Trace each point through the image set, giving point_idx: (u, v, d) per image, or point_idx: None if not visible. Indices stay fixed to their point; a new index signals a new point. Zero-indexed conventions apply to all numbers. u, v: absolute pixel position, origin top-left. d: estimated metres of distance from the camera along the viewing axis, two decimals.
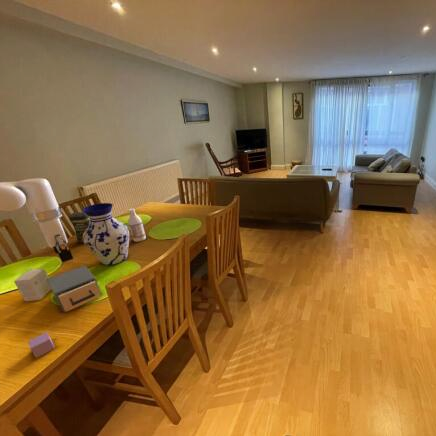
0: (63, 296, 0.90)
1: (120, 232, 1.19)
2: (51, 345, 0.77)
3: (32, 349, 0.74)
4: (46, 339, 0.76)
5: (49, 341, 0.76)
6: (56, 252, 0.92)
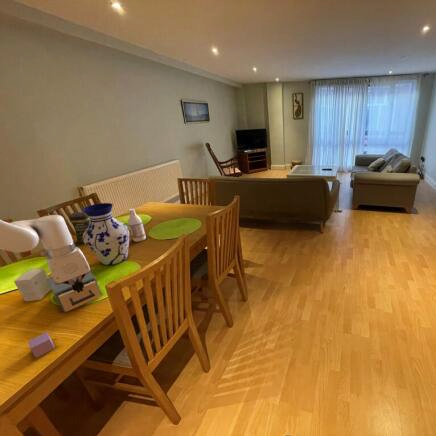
0: (63, 296, 0.90)
1: (120, 232, 1.19)
2: (51, 345, 0.77)
3: (32, 349, 0.74)
4: (46, 339, 0.76)
5: (49, 341, 0.76)
6: (80, 290, 0.91)
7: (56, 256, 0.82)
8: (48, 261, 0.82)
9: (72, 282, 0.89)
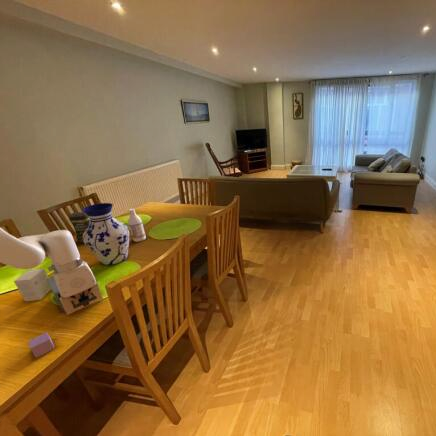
0: (65, 299, 0.89)
1: (120, 232, 1.19)
2: (51, 345, 0.77)
3: (32, 349, 0.74)
4: (46, 339, 0.76)
5: (49, 341, 0.76)
6: None
7: (63, 271, 0.82)
8: (55, 276, 0.82)
9: (78, 296, 0.89)
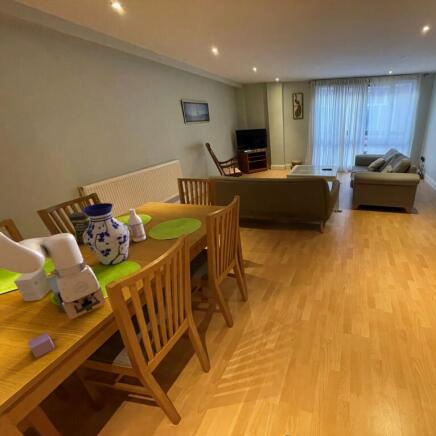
0: None
1: (120, 232, 1.19)
2: (51, 345, 0.77)
3: (32, 349, 0.74)
4: (46, 339, 0.76)
5: (49, 341, 0.76)
6: None
7: (66, 275, 0.80)
8: (58, 281, 0.80)
9: (81, 301, 0.87)
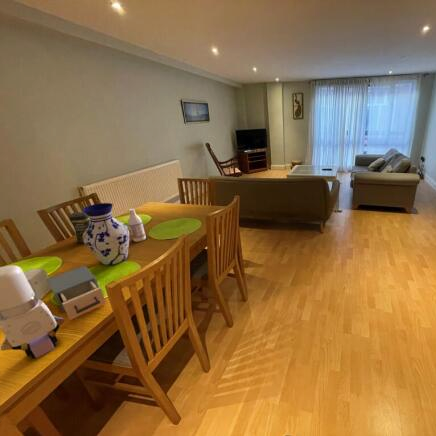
0: (67, 303, 0.86)
1: (120, 232, 1.19)
2: (51, 345, 0.77)
3: (32, 349, 0.74)
4: (46, 339, 0.76)
5: (49, 341, 0.76)
6: None
7: (11, 316, 0.68)
8: (1, 323, 0.67)
9: (24, 347, 0.73)
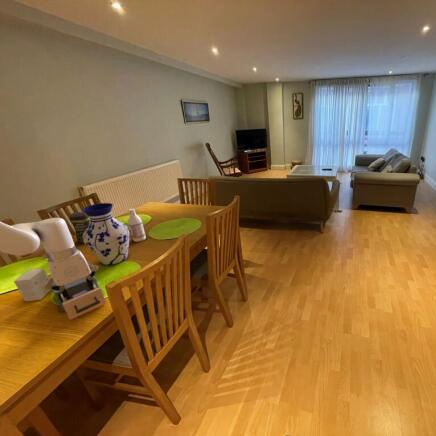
0: (67, 303, 0.86)
1: (120, 232, 1.19)
2: None
3: None
4: None
5: None
6: (69, 297, 0.89)
7: (57, 259, 0.82)
8: (49, 264, 0.82)
9: (61, 288, 0.86)
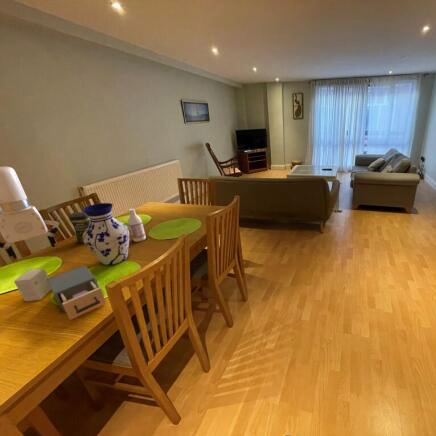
0: (67, 303, 0.86)
1: (120, 232, 1.19)
2: None
3: None
4: None
5: None
6: (16, 256, 0.80)
7: (5, 211, 0.75)
8: None
9: (6, 245, 0.78)
